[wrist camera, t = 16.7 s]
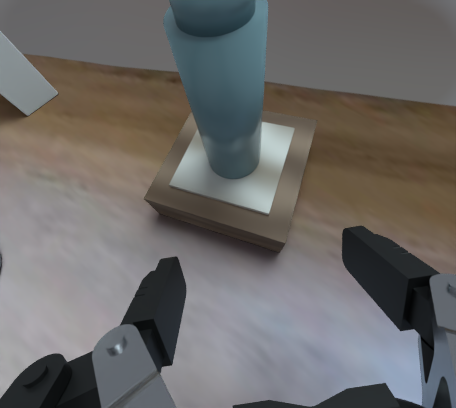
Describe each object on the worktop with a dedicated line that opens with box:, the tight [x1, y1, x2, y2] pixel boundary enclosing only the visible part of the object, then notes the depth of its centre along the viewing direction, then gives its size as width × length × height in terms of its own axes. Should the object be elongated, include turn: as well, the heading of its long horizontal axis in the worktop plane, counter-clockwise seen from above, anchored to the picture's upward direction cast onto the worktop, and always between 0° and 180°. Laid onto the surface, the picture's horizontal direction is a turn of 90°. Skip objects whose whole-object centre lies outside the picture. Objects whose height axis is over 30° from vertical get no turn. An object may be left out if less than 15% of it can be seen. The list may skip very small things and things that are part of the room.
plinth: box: [144, 111, 317, 253], centre depth 24 cm, size 14×14×4 cm
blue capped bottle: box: [163, 0, 268, 179], centre depth 15 cm, size 5×5×14 cm
